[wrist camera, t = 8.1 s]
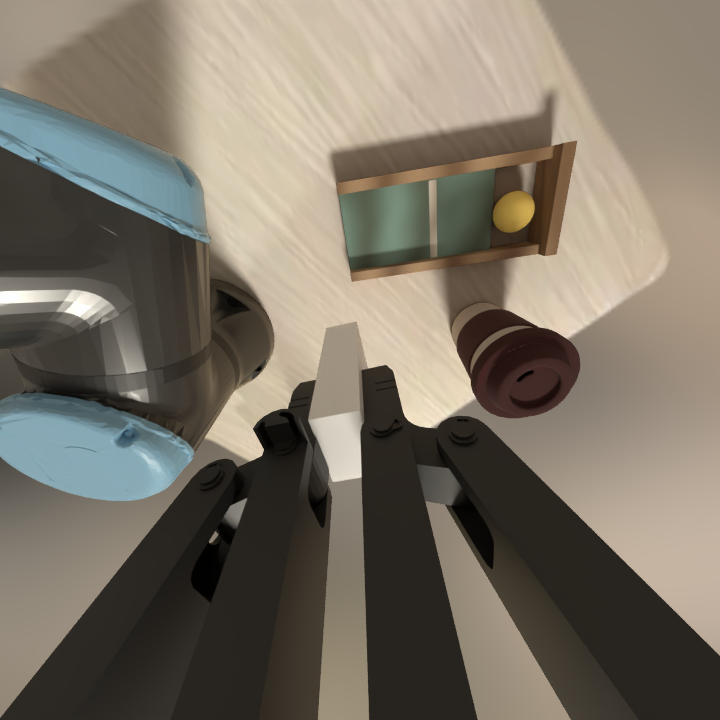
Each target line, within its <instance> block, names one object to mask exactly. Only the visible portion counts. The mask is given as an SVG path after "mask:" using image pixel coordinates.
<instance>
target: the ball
mask: <svg viewBox="0 0 720 720" xmlns="http://www.w3.org/2000/svg"><path fill="white" fill-rule="evenodd" d="M534 210H535V204H534V201H533V199H532V197H531V196H530V195H529V194H528V193H526V192H523V191H513V192H510V193H508V194H506V195H504V196H503V197H502V198H501V199H500V200H499V201H498V202H497V204H496V205H495V208H494V210H493V222H494V224H495V226H496V227H497V228H498V229H499V230H501V231H503V232H508V233H511V232H516V231H518V230H520V229H522V228H524V227H525V226H526V225H527V224H528V223H529V222H530V220H531V219H532V217H533V214H534Z"/></svg>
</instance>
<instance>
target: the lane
mask: <svg viewBox="0 0 720 720" xmlns="http://www.w3.org/2000/svg"><path fill="white" fill-rule="evenodd" d="M576 145H577V141H573V142H567V143H562V144H559V145H555V146H550V147H544V148H538V149H532V150H527V151H521V152H515V153H509V154H503V155H498V156H492V157H486V158H480V159H474V160H469V161H463V162H457V163H451V164H445V165H440V166H434V167H428V168H422V169H416V170H411V171H405V172H399V173H393V174H387V175H382V176H376V177H370V178H364V179H358V180H352V181H347V182H341V183H336V185H337V191H338V195H339V199H340V205H341V212H342V218H343V224H344V231H345V237H346V243H347V250H348V256H349V262H350V269H351V279H352V282H353V281H359V280H366V279H373V278H379V277H386V276H393V275H400V274H406V273H413V272H420V271H426V270H433V269H440V268H447V267H453V266H460V265H467V264H473V263H480V262H487V261H494V260H500V259H507V258H514V257H521V256H527V255H534V254H540V255H543V256H548V255H555V254H557V248H558V243H559V237H560V232H561V226H562V221H563V216H564V210H565V205H566V199H567V194H568V188H569V183H570V177H571V172H572V167H573V161H574V156H575V150H576ZM532 162H538V165H537V172H536V180H535V187H534V195H533V201H534V204H535V210H534V214H533V217H532V219H531V220H530V225H529V232H528V240H527V242H522V243H515V244H509V245H502V246H496V247H490V238H491V224H492V211H493V197H494V183H495V170H496V168H502V167H508V166H514V165H520V164H526V163H532Z"/></svg>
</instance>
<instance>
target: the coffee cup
mask: <svg viewBox="0 0 720 720" xmlns="http://www.w3.org/2000/svg"><path fill="white" fill-rule="evenodd" d="M452 338H453V341H454V343H455V345H456V347H457V352H458V355H459V357H460V359H461V361H462V363H463V365H464V367H465V369H466V371H467V373H468V375H469V377H470V379H471V387H472V391H473V393H474V395H475V397H476V398H477V400H478V401H479V403H480V404H481V406H482V407H483V408H484V409H486V410H487V411H488V412H490V413H492V414H494V415H497V416H499V417H505V418H522V417H528V416H534V415H539V414H542V413H544V412H547V411H549V410H551V409H552V408H554V407H555V406H557V405H558V404H559V403H560V402H561V401H563V400H564V399H565V397H566V396H567V394H568V393H569V392H570V390H571V388H572V387H573V385H574V383H575V382H576V380H577V377H578V374H579V370H580V358H579V354H578V352H577V349H576V348H575V347H574V345H573V344H572V343H571V342H570V341H569V340H567V339H566V338H564V337H563V336H561V335H560V334H558V333H556V332H554V331H552V330H549V329H545V328H539V327H537V326H536V325H534V324H532V323H530V322H528V321H526V320H525V319H523V318H521V317H519V316H517V315H516V314H514V313H512V312H510V311H507V310H503V309H501V308H499V307H497V306H496V305H493V304H490V303H477V304H473V305H471V306H468V307H467V308H465V309H464V310H462V311H461V312H460V313H459V314H458V316H457V317H456V319H455V320H454V322H453V325H452Z"/></svg>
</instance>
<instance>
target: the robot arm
mask: <svg viewBox="0 0 720 720" xmlns="http://www.w3.org/2000/svg"><path fill="white" fill-rule="evenodd" d="M209 243H211V238H210V235H209V234H208V231H207V222H206V213H205V204H204V193H203V188H202V185H201V182H200V180H199V178H198V177H197V175H196V174H195V172H194V171H193V170H192V169H191V168H190V167H189V166H188V165H187V164H186V163H185V162H184V161H182V160H181V159H179V158H178V157H176V156H174V155H172V154H170V153H168V152H165V151H163V150H161V149H159V148H156V147H154V146H151V145H149V144H147V143H144V142H142V141H139V140H137V139H135V138H132V137H130V136H127V135H125V134H122V133H120V132H117V131H115V130H112V129H109V128H107V127H104V126H102V125H99V124H97V123H94V122H92V121H89V120H86V119H84V118H81V117H79V116H76V115H73V114H71V113H68V112H66V111H63V110H60V109H58V108H55V107H52V106H50V105H47V104H44V103H42V102H39V101H36V100H34V99H31V98H28V97H26V96H23V95H20V94H17V93H15V92H12V91H9V90H6V89H3V88H1V87H0V350H1V349H9V350H10V352H11V354H12V356H13V358H14V360H15V363H16V365H17V367H18V370H19V372H20V375H21V377H22V379H23V382H24V385H25V387H24V390H23V392H22V393H21V394H14V395H11V396H9V397H7V398H5V399H3V400H1V402H0V457H1V458H2V459H3V460H5V461H6V462H7V463H9V464H10V465H11V466H13V467H15V468H16V469H17V470H19V471H21V472H22V473H24V474H26V475H28V476H29V477H31V478H33V479H35V480H37V481H39V482H42V483H44V484H46V485H49V486H51V487H54V488H56V489H59V490H62V491H65V492H68V493H72V494H76V495H80V496H84V497H89V498H94V499H101V500H111V501H129V500H138V499H142V498H146V497H149V496H151V495H153V494H156V493H159V492H161V491H163V490H164V489H166V488H167V487H168V486H169V485H171V484H172V483H173V481H174V480H175V479H176V478H177V476H178V475H179V474H180V473H181V471H182V470H183V469H184V468H185V467H186V465H187V464H189V462H191V460H192V459H193V457H194V453H195V451H196V450H197V448H198V447H199V445H200V443H201V442H202V440H203V439H204V437H205V436H206V434H207V433H208V431H209V430H210V428H211V426H212V425H213V423H214V422H215V420H216V418H217V417H218V415H219V414H220V412H221V411H222V409H223V407H224V406H225V404H226V403H227V401H228V400H229V398H230V396H231V395H232V393H233V392H234V391H235V390H236V389H238V388H240V387H241V386H243V385H245V384H246V383H248V382H250V381H251V380H253V379H254V378H256V377H257V376H258V375H259V374H260V373H261V372H262V371H263V370H264V368H265V367H266V365H267V363H268V361H269V360H270V358H271V355H272V353H273V349H274V333H273V328H272V325H271V322H270V320H269V318H268V316H267V314H266V313H265V311H264V310H263V308H262V307H261V306H260V305H259V304H258V303H257V301H256V300H254V299H253V298H252V297H251V296H250V295H249V294H247V293H246V292H244V291H243V290H241V289H240V288H238V287H236V286H234V285H232V284H229V283H226V282H223V281H219V280H214V279H209ZM253 430H254V432H255V434H256V436H257V437H258V439H259V441H260V443H261V445H262V447H263V448H264V452H263V455H262V456H261V457H259V458H257V459H255V460H253V461H250V462H248V463H246V464H244V465H241V466H239V467H237V466H236V465H235V463H234V462H233V461H232V460H229V459H221V460H217V461H214V462H212V463H210V464H208V465H207V466H205V467H204V468H202V469H201V470H200V471H199V472H198V473H197V474H196V475H195V476H194V477H193V478H192V479H191V480H190V482H189V483H188V484H187V485H186V486H185V488H184V489H183V490H182V491H181V493H180V494H179V495H178V496H177V498H176V499H175V500H174V501H173V503H172V504H171V505H170V506H169V508H168V509H167V510H166V512H165V513H164V514H163V515H162V516H161V518H160V519H159V520H158V521H157V523H156V524H155V525H154V526H153V528H152V529H151V530H150V532H149V533H148V534H147V535H146V536H145V538H144V539H143V540H142V541H141V543H140V544H139V545H138V547H137V548H136V549H135V550H134V551H133V553H132V554H131V555H130V556H129V558H128V559H127V560H126V561H125V563H124V564H123V565H122V566H121V568H120V569H119V570H118V571H117V573H116V574H115V575H114V576H113V578H112V579H111V580H110V582H109V583H108V584H107V585H106V587H105V588H104V589H103V590H102V591H101V593H100V594H99V595H98V597H97V598H96V599H95V600H94V602H93V603H92V604H91V605H90V607H89V608H88V609H87V610H86V612H85V613H84V614H83V615H82V617H81V618H80V619H79V620H78V622H77V623H76V624H75V625H74V626H73V628H72V629H71V630H70V632H69V633H68V634H67V635H66V636H65V638H64V639H63V640H62V642H61V643H60V644H59V645H58V646H57V648H56V649H55V650H54V652H53V653H52V654H51V655H50V657H49V658H48V659H47V660H46V661H45V663H44V664H43V665H42V667H41V668H40V669H39V670H38V671H37V673H36V674H35V675H34V676H33V678H32V679H31V680H30V682H29V683H28V684H27V685H26V686H25V688H24V689H23V690H22V691H21V693H20V694H19V695H18V696H17V698H16V699H15V700H14V701H13V703H12V704H11V705H10V707H9V708H8V709H7V710H6V711H5V713H4V714H3V715H2V716H1V718H0V720H318V706H319V690H320V675H321V658H322V644H323V627H324V613H325V597H326V581H327V566H328V551H329V534H330V520H331V504H332V496H331V491H330V488H329V486H328V476H329V473H330V476H331V478H332V481H333V482H336V481H342V480H348V479H354V478H361V477H362V504H363V534H364V535H363V536H364V568H365V596H366V597H365V599H366V630H367V659H368V660H367V662H368V693H369V720H477V715H476V711H475V707H474V703H473V699H472V695H471V691H470V686H469V682H468V679H467V674H466V670H465V666H464V661H463V657H462V653H461V649H460V645H459V640H458V636H457V632H456V628H455V624H454V620H453V616H452V611H451V607H450V603H449V599H448V594H447V590H446V586H445V582H444V578H443V574H442V569H441V565H440V561H439V557H438V553H437V549H436V544H435V540H434V536H433V532H432V528H431V524H430V520H429V515H428V511H427V507H426V503H425V501H428V502H434V503H440V504H445V505H446V507H447V509H448V511H449V512H450V514H451V516H452V517H453V519H454V521H455V523H456V524H457V526H458V528H459V529H460V531H461V533H462V535H463V536H464V538H465V540H466V541H467V543H468V545H469V546H470V548H471V550H472V552H473V553H474V555H475V557H476V558H477V560H478V562H479V563H480V565H481V567H482V569H483V570H484V572H485V574H486V575H487V577H488V579H489V580H490V582H491V584H492V586H493V587H494V589H495V591H496V592H497V594H498V596H499V598H500V599H501V601H502V602H503V604H504V606H505V608H506V609H507V611H508V613H509V615H510V616H511V618H512V620H513V621H514V623H515V625H516V627H517V628H518V630H519V631H520V633H521V635H522V637H523V638H524V640H525V642H526V644H527V645H528V647H529V649H530V650H531V652H532V654H533V655H534V657H535V659H536V661H537V662H538V664H539V666H540V667H541V669H542V671H543V673H544V674H545V676H546V678H547V679H548V681H549V682H550V684H551V686H552V688H553V689H554V691H555V693H556V695H557V696H558V698H559V700H560V701H561V703H562V705H563V707H564V708H565V710H566V712H567V713H568V715H569V717H570V719H571V720H720V656H719V655H718V654H717V653H716V652H715V651H714V650H713V649H712V648H711V647H710V646H709V645H708V644H707V643H706V642H705V641H704V640H703V639H702V638H701V637H700V636H699V635H698V634H697V633H696V632H695V631H694V630H693V629H692V628H691V627H690V626H689V625H688V624H687V623H686V622H685V621H684V620H683V619H682V618H681V617H680V616H679V615H678V614H677V613H676V612H675V611H674V610H673V609H672V608H671V607H670V606H669V605H668V604H667V603H666V602H665V601H664V600H663V599H662V598H661V597H659V595H658V594H657V593H656V592H655V591H654V590H653V589H652V588H651V587H650V586H648V584H646V582H645V581H643V579H642V578H641V577H639V576H638V575H637V574H636V573H635V572H634V571H633V570H632V569H631V568H630V567H629V566H628V565H627V564H626V563H625V562H624V561H623V560H622V559H621V558H620V557H619V556H618V555H617V554H616V553H615V552H614V551H613V550H612V549H611V548H610V547H609V546H608V545H607V544H606V543H605V542H604V541H603V540H602V539H601V538H600V537H599V536H598V535H597V534H596V533H595V532H594V531H593V530H592V529H591V528H590V527H589V526H588V525H587V524H586V523H585V522H584V521H583V520H582V519H581V518H580V517H579V516H578V515H577V514H576V513H575V512H573V510H572V509H571V508H570V507H569V506H568V505H567V504H566V503H565V502H564V501H563V500H562V499H561V498H560V497H559V496H557V495H556V494H555V493H554V492H553V491H552V490H551V489H550V488H549V487H548V486H547V485H546V484H545V483H544V482H543V481H542V480H541V479H540V478H539V477H538V476H537V475H536V474H535V473H534V472H533V471H532V470H531V469H530V468H529V467H528V466H527V465H526V464H525V463H524V462H523V461H522V460H521V459H520V458H519V457H518V456H517V455H516V454H515V453H514V452H513V451H512V450H511V449H510V448H509V447H508V446H507V445H506V444H505V443H504V442H503V441H502V440H501V439H500V438H499V437H498V436H497V435H496V434H495V433H494V432H493V431H492V430H491V429H490V428H489V427H488V426H487V425H485V424H484V423H483V422H481V421H479V420H478V419H475V418H472V417H469V416H455V417H451V418H448V419H446V420H444V421H442V422H441V423H440V425H439V426H438V428H437V429H435V428H425V427H419V426H417V425H414V424H412V423H411V422H409V421H408V420H407V419H406V418H405V416H404V414H403V410H402V406H401V402H400V398H399V394H398V389H397V385H396V381H395V377H394V373H393V371H392V370H391V369H390V368H389V367H388V366H387V365H384V366H379V367H374V368H369V369H368V367H367V363H366V359H365V355H364V351H363V346H362V342H361V338H360V334H359V330H358V325H357V322H353V323H348V324H344V325H339V326H334V327H329V328H326V333H325V338H324V343H323V348H322V353H321V358H320V363H319V368H318V373H317V378H316V380H313V381H308V382H303V383H300V384H299V385H298V386H297V388H296V389H295V390H294V391H293V394H292V397H291V402H290V403H289V407H288V409H280V410H277V411H274V412H271V413H269V414H268V415H266V416H264V417H263V418H262V419H261V420H260V421H258V422H257V424H256V425H255V427H254V428H253ZM215 531H216V532H217V533H218V534H219V535H218V536H217V538H216V539H215V540H214V542H212V543H209V540H210V538H211V537H212V535H213V534H214V532H215Z"/></svg>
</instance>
